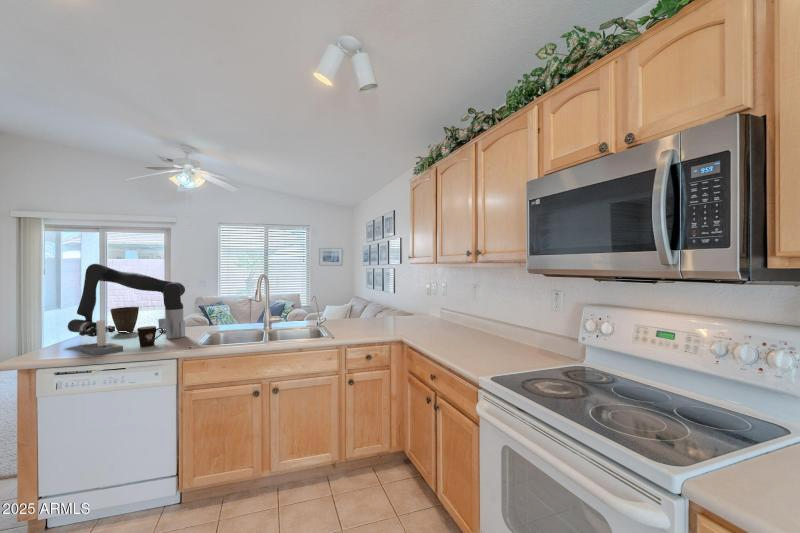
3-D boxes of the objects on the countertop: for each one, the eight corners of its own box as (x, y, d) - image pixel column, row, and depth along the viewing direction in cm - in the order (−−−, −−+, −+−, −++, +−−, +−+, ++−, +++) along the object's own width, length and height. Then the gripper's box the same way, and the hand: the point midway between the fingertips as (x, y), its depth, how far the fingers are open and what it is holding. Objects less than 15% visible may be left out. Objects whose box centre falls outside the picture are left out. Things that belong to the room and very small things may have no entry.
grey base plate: (80, 350, 193) (80, 345, 193) (108, 345, 203) (107, 341, 203) (94, 355, 182) (94, 350, 182) (123, 350, 192) (123, 345, 192)
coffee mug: (136, 348, 196) (135, 329, 196) (139, 345, 204) (138, 327, 204) (162, 345, 202) (161, 327, 202) (163, 342, 209) (163, 325, 209)
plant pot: (106, 335, 230) (105, 310, 230) (117, 331, 245) (116, 307, 244) (134, 334, 234) (133, 309, 234) (143, 329, 249) (142, 306, 248)
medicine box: (164, 332, 240) (164, 319, 240) (158, 332, 241) (158, 318, 241) (174, 330, 248) (173, 317, 248) (168, 329, 249) (168, 317, 248)
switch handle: (97, 345, 191) (96, 320, 191) (104, 344, 194) (103, 320, 194) (98, 346, 190) (98, 321, 190) (105, 345, 193) (105, 320, 192)
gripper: (73, 323, 194) (84, 326, 185) (106, 320, 206) (118, 322, 197) (74, 338, 194) (85, 341, 185) (107, 333, 206) (119, 336, 197)
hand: (102, 331), depth 191 cm, fingers open, 8 cm apart
